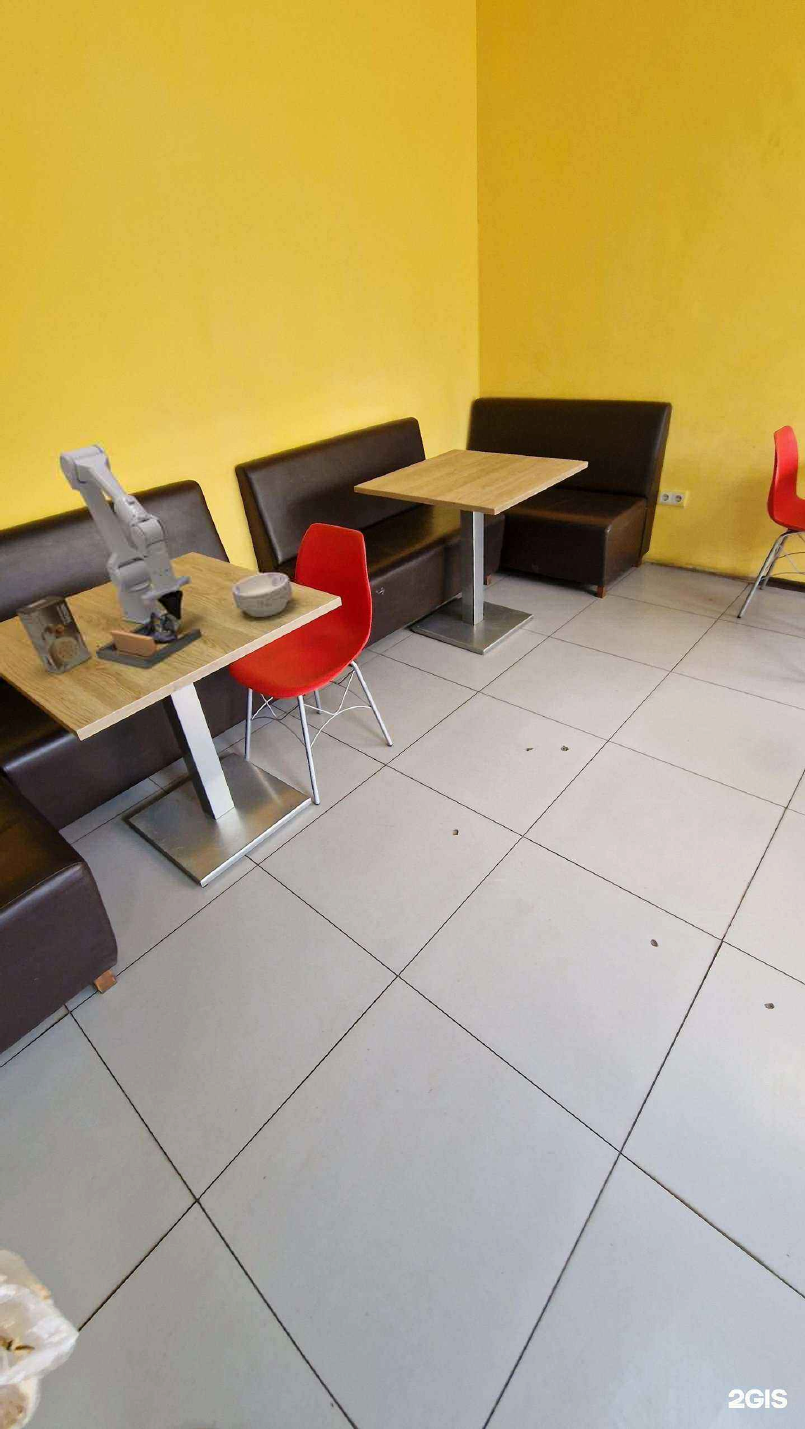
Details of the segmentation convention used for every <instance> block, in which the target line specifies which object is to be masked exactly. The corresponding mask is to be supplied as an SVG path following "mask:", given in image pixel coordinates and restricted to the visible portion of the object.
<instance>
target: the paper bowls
mask: <svg viewBox="0 0 805 1429" xmlns="http://www.w3.org/2000/svg"><path fill="white" fill-rule="evenodd" d="M231 593H232V595H233V600H234V602H235V605H236V607H237V608H238V610H241V611H244V612H246V613H247V614H248V615H249V616H251V617H255V618H265V617H270V616H274V615H276V614H279V613H280V612H282V611H283V610H285V608H286V606H287V602H289V601H290V599H291V598H292V597H293V590H292V586H291V581H290V578H289V576H288V575H286V574H284V573H281V572H264V573H258V574H254V575H251V576H248V577H247V576H246V577H245V578H242V579H241V580H239V581H238V582H236V583H235V584H234V585H233V586H232V588H231Z"/></svg>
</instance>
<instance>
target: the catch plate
mask: <svg viewBox="0 0 805 1429" xmlns="http://www.w3.org/2000/svg"><path fill="white" fill-rule="evenodd" d="M109 632H110V635H111V637H112V641H114V643H115V645H116V648H117V651H122V652H125V653H131V654H134V655H139V656H144V657H148V656H150V655H151V654H153V653H155V652H156V651H158V648H157V647H156V646H157V645H156V643H155V640H153V638H152V637H147V636H143V635H138V634H133V633H128V632H129V631H128V632H127V631H122V630H116V629H113V630H111V631H109Z"/></svg>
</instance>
